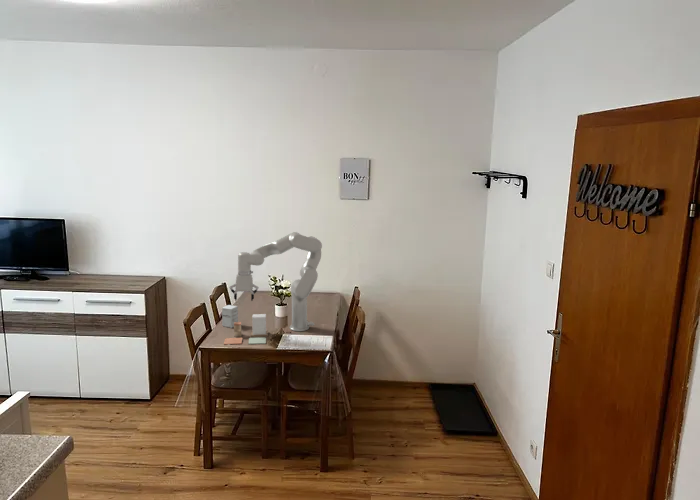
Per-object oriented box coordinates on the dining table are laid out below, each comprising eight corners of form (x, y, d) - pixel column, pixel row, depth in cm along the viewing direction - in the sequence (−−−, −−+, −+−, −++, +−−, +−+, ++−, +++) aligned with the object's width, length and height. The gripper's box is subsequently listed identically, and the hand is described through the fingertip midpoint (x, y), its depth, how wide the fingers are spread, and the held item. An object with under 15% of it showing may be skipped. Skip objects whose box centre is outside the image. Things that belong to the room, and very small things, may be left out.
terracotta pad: (242, 338, 302) (242, 337, 302) (241, 344, 293) (241, 343, 293) (225, 339, 300) (225, 338, 300) (223, 344, 292) (223, 343, 292)
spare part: (241, 334, 309) (241, 321, 308) (241, 336, 305) (240, 324, 304) (234, 334, 308) (234, 322, 307) (234, 336, 305) (233, 324, 303)
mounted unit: (267, 332, 313) (267, 313, 311) (267, 336, 306) (267, 317, 303) (251, 332, 312) (251, 313, 310) (250, 337, 304) (250, 318, 302)
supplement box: (222, 326, 323) (221, 307, 320) (229, 322, 329) (228, 304, 327) (231, 328, 320) (230, 309, 317) (238, 324, 326) (238, 306, 324)
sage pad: (265, 338, 303) (265, 337, 303) (265, 343, 294) (265, 342, 294) (249, 338, 302) (249, 337, 301) (248, 344, 293) (248, 343, 293)
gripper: (259, 271, 308) (258, 298, 311) (230, 271, 306) (230, 298, 309) (258, 274, 301) (258, 302, 304) (229, 274, 299) (228, 301, 302)
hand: (244, 300), depth 307 cm, fingers open, 9 cm apart
